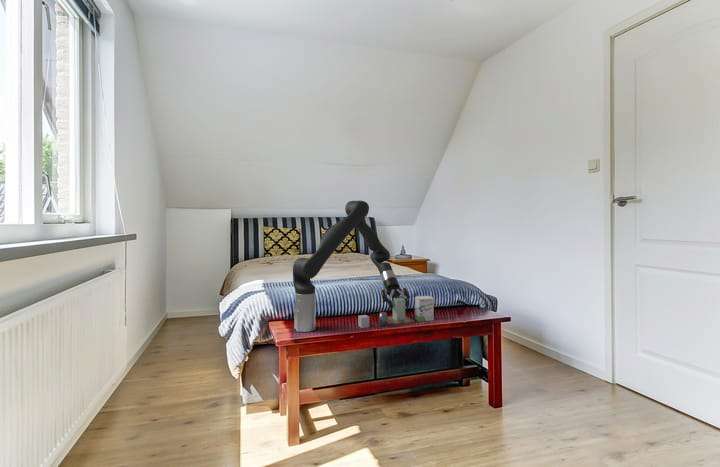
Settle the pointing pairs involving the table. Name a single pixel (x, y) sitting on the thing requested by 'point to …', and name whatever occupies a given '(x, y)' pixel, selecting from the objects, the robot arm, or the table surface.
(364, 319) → the grey block
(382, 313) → the metal cylinder
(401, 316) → the sage block
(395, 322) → the walnut board
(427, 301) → the ink box
